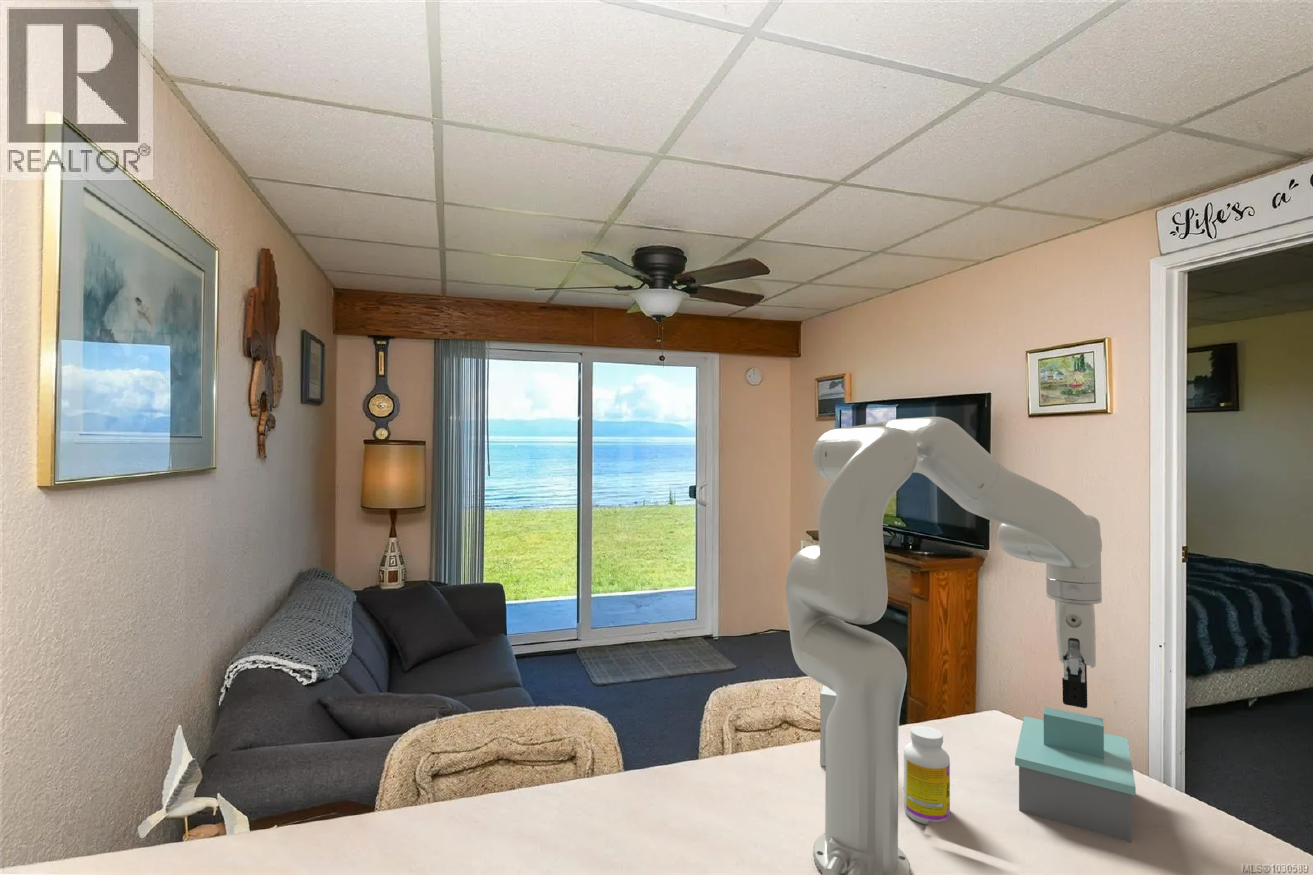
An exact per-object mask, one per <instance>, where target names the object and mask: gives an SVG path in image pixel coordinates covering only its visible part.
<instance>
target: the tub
mask: <svg viewBox="0 0 1313 875" xmlns="http://www.w3.org/2000/svg"><path fill="white" fill-rule="evenodd" d="M1018 811H1019V812H1023V813H1025V814H1030V815H1033V816H1037V817H1040V818H1044V819H1046V820H1047V819H1048V820H1051V821H1055V822H1058V823H1062V824H1065V825H1069V826H1071V827H1072V826H1073V827H1076V828H1079V829H1082V830H1086V831H1090V832H1093V833H1097V834H1100V835H1104V836H1106V837H1111V838H1113V839H1117V840H1121V841H1124V842H1128V843H1132V794H1128V793H1124V792H1120V791H1116V790H1112V789H1108V788H1104V787H1100V786H1096V785H1092V784H1088V783H1084V782H1080V781H1076V780H1072V779H1068V778H1064V777H1060V776H1056V775H1052V774H1048V773H1044V772H1040V771H1036V770H1032V769H1028V768H1024V767H1020V766H1018Z"/></svg>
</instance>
